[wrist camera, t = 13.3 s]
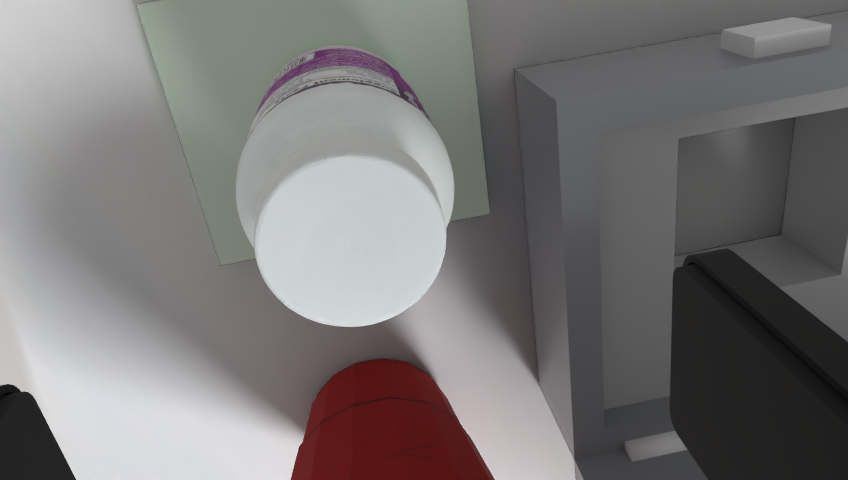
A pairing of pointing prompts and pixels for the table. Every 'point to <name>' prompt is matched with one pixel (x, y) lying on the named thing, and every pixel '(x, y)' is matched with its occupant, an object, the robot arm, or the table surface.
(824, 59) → the equipment case
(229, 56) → the sage mat
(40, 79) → the table surface
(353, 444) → the plastic cup
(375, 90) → the pill bottle
